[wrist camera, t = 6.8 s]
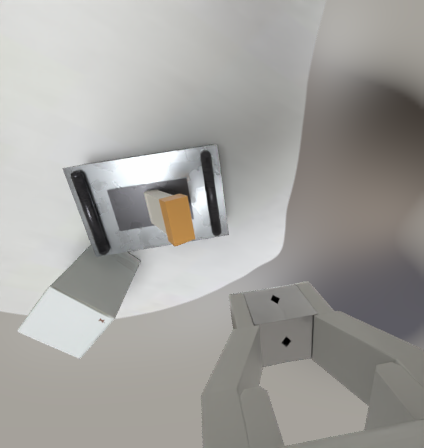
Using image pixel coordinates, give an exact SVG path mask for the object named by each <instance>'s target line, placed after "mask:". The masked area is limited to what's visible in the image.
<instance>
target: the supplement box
mask: <svg viewBox="0 0 424 448" xmlns="http://www.w3.org/2000/svg"><path fill="white" fill-rule="evenodd" d="M140 262H141V261H140V260H139V259H137V258H135V257H134V256H132V255H131V254H129V253H128V252H123V253H117V254H111V255H105V256H99V257H96V256H95V253H94V250H93V248H92V245H90V246H89V247H88V248H87V249H86V250H85V251H84V252H83V253H82V254H81V256H80V257H79V258H78V259H77V260H76V261H75V262H74V263H73V264H72V265H71V266H70V267H69V268H68V269H67V270H66V271H65V272H64V273H63V274H62V275H61V276H60V277H59V278H58V279H57V280H56V281H55V282H54V283H53V284H52V285H50V286H49V288H48V289H47V290H46V291H45V293H44V294H43V295H42V297H41V298H40V299H39V301H38V302H37V303H36V305H35V306H34V308H33V309H32V310H31V312H30V313H29V315H28V316H27V317H26V319H25V320H24V321H23V323H22V325H21V326H20V327H19V329H18V332H20V333H22V334H24V335H26V336H28V337H31V338H33V339H35V340H37V341H40V342H42V343H44V344H46V345H49V346H51V347H53V348H56V349H59V350H60V351H63V352H65V353H67V354H70V355H72V356H74V357H76V358H78V359H80V358H81V357H82V356H83V355H84V354H85V353H86V352H87V350H88V349H89V348H90V347H91V346H92V345H93V343H94V342H95V341H96V340H97V339H98V338H99V337H100V335H101V334H102V333H103V332H104V330H105V329H106V328H107V327H108V326H109V325H110V323H112V321H113V320H114V319H115V317H116V315H117V313H118V311H119V308H120V306H121V304H122V302H123V299H124V297H125V295H126V293H127V291H128V288H129V286H130V284H131V282H132V279H133V277H134V275H135V273H136V271H137V268H138V266H139V264H140Z"/></svg>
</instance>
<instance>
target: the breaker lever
mask: <svg viewBox="0 0 424 448" xmlns="http://www.w3.org/2000/svg"><path fill="white" fill-rule="evenodd" d="M144 196H145V200H146V204H147V208H148V212H149V216H150V219H151V223H152V224H154V225H155V226H156V227H158V228H159V229H160V230H162V231H163V232H164V233H165V234H167V237H168V241H169V242H170V243H171V244H173V245H174V246H178V245H181V244H183V243H186V242H188V241H191V240H194V239H195V234H194V228H193V223H192V218H191V212H190V207H189V202H188V196H186V195H183V194H176V195H171V194H168V193H165V192H162V191H159V190H158V189H154V190H149V191H145V192H144Z"/></svg>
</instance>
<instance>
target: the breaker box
mask: <svg viewBox="0 0 424 448" xmlns="http://www.w3.org/2000/svg"><path fill="white" fill-rule="evenodd" d="M63 171H64V173H65V176H66V179H67V181H68V184H69V187H70V189H71V192H72V195H73V197H74V200H75V203H76V205H77V208H78V211H79V213H80V216H81V219H82V221H83V224H84V227H85V229H86V232H87V235H88V237H89V240H90V242H91V245H92V248H93V250H94V253H95V256H96V257H99V256H105V255H111V254H117V253H123V252H129V251H135V250H141V249H147V248H153V247H159V246H165V245H171V243H170V242H169V241H168V237H167V234H165V233H164V232H163V231H162V230H160V229H159V228H158V227H156V226H155V225H154V224H152V223H151V219H150V216H149V212H148V208H147V204H146V200H145V196H144V192H145V191H149V190H154V189H158V190H159V191H162V192H165V193H168V194H171V195H176V194H183V195H186V196H188V202H189V207H190V212H191V218H192V223H193V228H194V234H195V239H194V240H191V241H195V240H201V239H207V238H213V237H219V236H225V235H229V232H228V224H227V217H226V209H225V201H224V193H223V185H222V177H221V169H220V161H219V153H218V145H206V146H200V147H193V148H187V149H180V150H174V151H167V152H161V153H154V154H148V155H141V156H134V157H128V158H121V159H115V160H108V161H102V162H95V163H89V164H83V165H78V166H73V167H67V168H63ZM188 242H189V241H188Z"/></svg>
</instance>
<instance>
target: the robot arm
mask: <svg viewBox="0 0 424 448" xmlns="http://www.w3.org/2000/svg"><path fill="white" fill-rule="evenodd" d="M229 302H230V310H231V317H232V324H233V330H232V332H231V334H230V337H229V339H228V341H227V343H226V345H225V347H224V349H223V351H222V353H221V355H220V357H219V360H218V361H217V364H216V366H215V368H214V370H213V372H212V374H211V376H210V378H209V380H208V382H207V384H206V386H205V389H204V391H203V393H202V395H201V406H202V435H203V436H202V438H203V448H424V350H423V349H421V348H418V347H416V346H414V345H412V344H410V343H408V342H406V341H403V340H401V339H399V338H397V337H395V336H393V335H390V334H388V333H386V332H384V331H382V330H379V329H377V328H375V327H373V326H371V325H368V324H366V323H364V322H362V321H360V320H358V319H355V318H353V317H351V316H349V315H347V314H344V313H342V312H340V311H336V312H335V311H334V310H333V309H332V308H331V307H330V306H329V304H328V303H327V302H326V301H325V300H324V299H323V297H322V296H321V295H320V294H319V293H318V292H317V290H316V289H315V288H314V287H313V286H312V285H311V284H310V282H307V281H305V282H301V283H295V284H292V285H286V286H280V287H275V288H268V289H262V290H255V291H248V292H242V293H236V294H230V295H229ZM311 358H312V360H313V361H314V362H316V363H317V364H318V365H319V366H321V367H322V368H323V369H324V370H325V371H327V372H328V373H329V374H330V375H332V376H333V377H334V378H335V379H337V380H338V381H339V382H340V383H341V384H343V385H344V386H345V387H346V388H347V389H349V390H350V391H351V392H352V393H353V394H355V395H356V396H357V397H358V398H360V399H361V400H362V401H363V402H364V403H366V404H367V405H368V406H369V408H368V413H367V418H366V424H365V429H364V431H359V432H354V433H349V434H344V435H338V436H333V437H328V438H323V439H319V440H313V441H308V442H303V443H298V444H292V445H287V446H284V443H283V440H282V436H281V433H280V430H279V427H278V424H277V420H276V417H275V414H274V411H273V408H272V404H271V401H270V398H269V395H268V392H267V390H265V389H264V388H262V387H260V386H259V383H260V378H261V374H262V370H263V367H266V366H271V365H275V364H279V363H285V362H290V361H297V360H304V359H311Z"/></svg>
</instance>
